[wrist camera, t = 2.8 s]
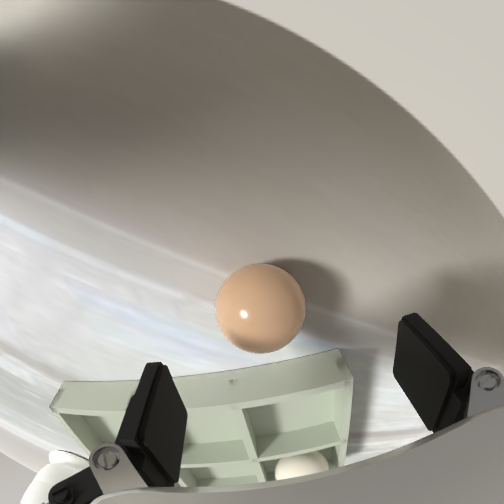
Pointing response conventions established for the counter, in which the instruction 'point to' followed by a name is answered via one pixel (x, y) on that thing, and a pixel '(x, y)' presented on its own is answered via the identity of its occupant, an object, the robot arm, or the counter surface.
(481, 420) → the robot arm
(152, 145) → the counter surface
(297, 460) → the cream egg
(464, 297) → the counter surface
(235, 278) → the brown egg
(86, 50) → the counter surface
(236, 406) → the egg tray
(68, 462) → the jar
